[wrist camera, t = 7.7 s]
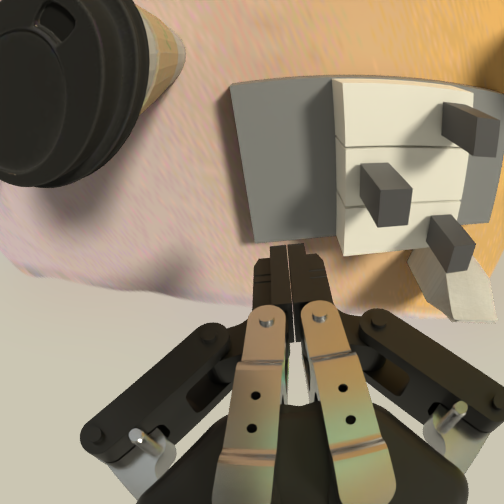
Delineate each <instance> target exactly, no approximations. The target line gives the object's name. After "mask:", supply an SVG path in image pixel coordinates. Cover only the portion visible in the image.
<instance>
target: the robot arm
mask: <svg viewBox="0 0 504 504" xmlns="http://www.w3.org/2000/svg"><path fill="white" fill-rule="evenodd" d="M287 246H288V258H289V268H288V259H287V249H286V245H280V246H270V258H263V259H259V260H258V261H257V263H256V264H255V266H254V279H253V283H254V284H253V308H252V312H251V313H250V315H249V316H248V319H247V320H246V321H244V322H243V323H241V324H239V325H237V326H234V327H230V328H227V329H226V328H225V326H223V325H221V324H219V323H206V324H204V325H201V326H200V327H198V328H197V329H196V330H195V331H193V332H192V333H191V334H190V335H189V336H188V337H187V338H185V340H183V341H182V342H181V343H180V344H179V345H178V346H176V347H175V348H174V349H173V350H172V351H171V352H169V353H168V354H167V355H166V356H165V357H164V358H163V359H161V360H160V361H159V362H158V363H157V364H156V365H155V366H153V367H152V368H151V369H150V370H149V371H147V372H146V373H145V374H144V375H143V376H142V377H140V378H139V379H138V380H137V381H136V382H135V383H133V384H132V385H131V386H130V387H129V388H128V389H126V390H125V391H124V392H123V393H122V394H120V395H119V396H118V397H117V398H116V399H115V400H113V401H112V402H111V403H110V404H109V405H108V406H106V407H105V408H104V409H103V410H101V411H100V412H99V413H98V414H97V415H96V416H94V417H93V418H92V419H91V420H90V421H88V422H87V423H86V424H85V425H84V427H83V428H82V430H81V433H80V441H81V445H82V447H83V448H84V449H85V450H86V451H87V452H88V453H90V454H92V455H93V456H95V457H96V458H98V459H99V460H100V461H102V462H103V463H105V464H107V465H108V466H109V468H110V469H111V470H112V471H113V473H114V474H115V475H116V476H117V477H118V479H119V480H120V481H121V482H122V484H123V485H124V486H125V487H126V488H127V489H128V490H129V492H130V493H131V494H132V495H133V496H134V497H135V498H136V500H137V503H136V504H467V500H468V483H467V480H466V477H465V475H464V474H465V473H466V471H467V470H468V468H469V467H470V465H471V463H472V462H473V461H474V459H475V457H476V456H477V454H478V453H479V451H480V449H481V448H482V446H483V444H484V443H485V441H486V439H487V438H488V436H489V434H490V433H491V432H492V431H494V430H495V429H496V428H497V427H498V426H499V425H501V424H502V423H503V422H504V387H503V386H502V385H500V384H499V383H497V382H496V381H494V380H493V379H491V378H490V377H488V376H487V375H485V374H484V373H482V372H481V371H479V370H478V369H476V368H475V367H473V366H472V365H470V364H469V363H467V362H466V361H464V360H463V359H461V358H460V357H458V356H457V355H455V354H454V353H452V352H451V351H449V350H448V349H446V348H445V347H443V346H441V345H440V344H439V343H437V342H435V341H434V340H432V339H431V338H429V337H428V336H426V335H424V334H423V333H422V332H420V331H418V330H417V329H415V328H414V327H412V326H411V325H409V324H408V323H406V322H404V321H403V320H401V319H400V318H398V317H397V316H395V315H393V314H392V313H390V312H389V311H387V310H384V309H378V308H377V309H371V310H368V311H366V312H365V313H364V314H363V315H362V316H354V315H348V314H345V313H343V312H341V311H340V310H338V309H337V308H336V307H335V305H334V303H333V300H332V296H331V291H330V287H329V283H328V279H327V274H326V270H325V266H324V262H323V260H322V259H321V258H320V257H319V256H318V255H317V254H306V253H305V247H304V243H301V244H291V245H287ZM289 271H290V278H289ZM290 283H291V288H290ZM291 293H292V299H291ZM292 304H293V312H292ZM293 315H294V325H295V336H296V342H301V346H302V360H303V366H304V372H305V377H306V383H307V389H308V394H309V404H306V405H303V406H293V405H288V404H287V399H288V374H289V356H290V343H292V342H294V329H293ZM366 382H367V383H368V384H370V385H371V386H372V387H374V388H375V389H376V390H378V391H379V392H380V393H382V394H383V395H384V396H385V397H387V398H388V399H389V400H391V401H392V402H394V403H395V404H396V405H398V406H399V407H400V408H401V409H403V410H404V411H405V412H407V413H408V414H409V415H411V416H412V417H413V418H415V419H416V420H418V421H419V422H420V423H422V424H423V425H424V427H423V435H424V438H425V440H426V441H427V442H428V443H429V444H430V445H431V446H430V445H429V444H428V443H426V442H425V441H424V440H423V439H422V438H420V437H419V436H418V435H417V434H415V433H414V432H413V431H412V430H411V429H409V428H408V427H407V426H406V425H404V424H403V423H402V422H401V421H400V420H398V419H397V418H396V417H395V416H393V415H392V414H391V413H390V412H389V411H387V410H386V409H384V408H383V407H381V406H379V405H377V404H374V403H372V401H371V398H370V394H369V391H368V387H367V384H366ZM231 390H232V395H231V401H230V408H229V414H228V415H226V416H224V417H223V418H221V419H219V420H218V421H217V422H215V423H214V424H213V425H212V426H211V427H210V428H209V429H208V430H207V431H206V432H205V433H204V434H203V435H202V436H201V438H200V439H199V440H198V441H197V442H196V443H195V444H194V445H193V446H192V447H191V448H190V449H189V450H188V451H187V452H186V453H185V454H184V455H183V456H182V457H181V458H180V459H179V460H178V461H177V462H176V463H175V464H174V465H173V466H172V467H171V468H170V469H169V467H170V466H171V464H172V463H173V462H174V460H175V458H176V448H175V444H177V443H178V442H179V441H180V440H181V439H182V438H183V437H184V436H185V435H186V434H187V433H188V432H189V431H190V430H191V429H193V428H194V427H195V426H196V424H198V423H199V422H200V421H201V420H202V419H203V418H204V417H205V416H206V415H207V414H208V413H209V412H210V411H211V410H212V409H213V408H214V407H215V406H216V405H217V404H218V403H219V402H220V401H221V400H222V399H223V398H224V397H225V396H226V395H227V394H228V393H229V392H230V391H231Z"/></svg>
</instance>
